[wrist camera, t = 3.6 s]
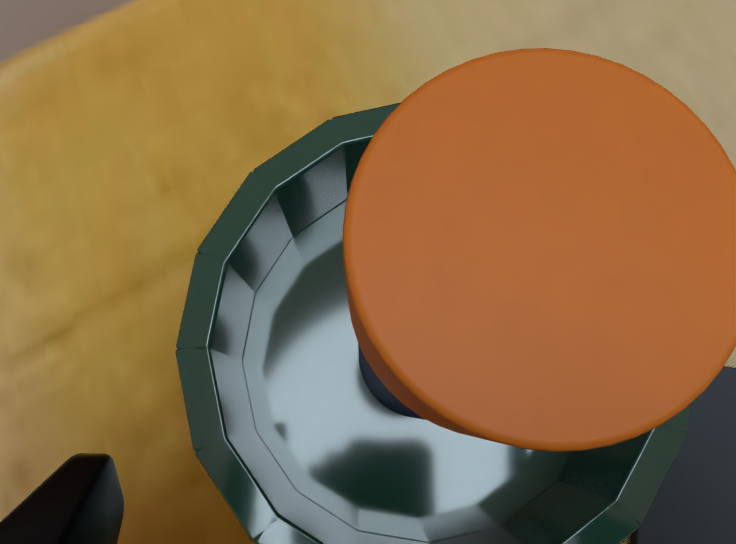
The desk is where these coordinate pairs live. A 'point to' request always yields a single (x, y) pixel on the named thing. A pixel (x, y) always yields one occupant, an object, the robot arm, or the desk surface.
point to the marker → (542, 252)
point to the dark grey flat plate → (700, 475)
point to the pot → (359, 394)
